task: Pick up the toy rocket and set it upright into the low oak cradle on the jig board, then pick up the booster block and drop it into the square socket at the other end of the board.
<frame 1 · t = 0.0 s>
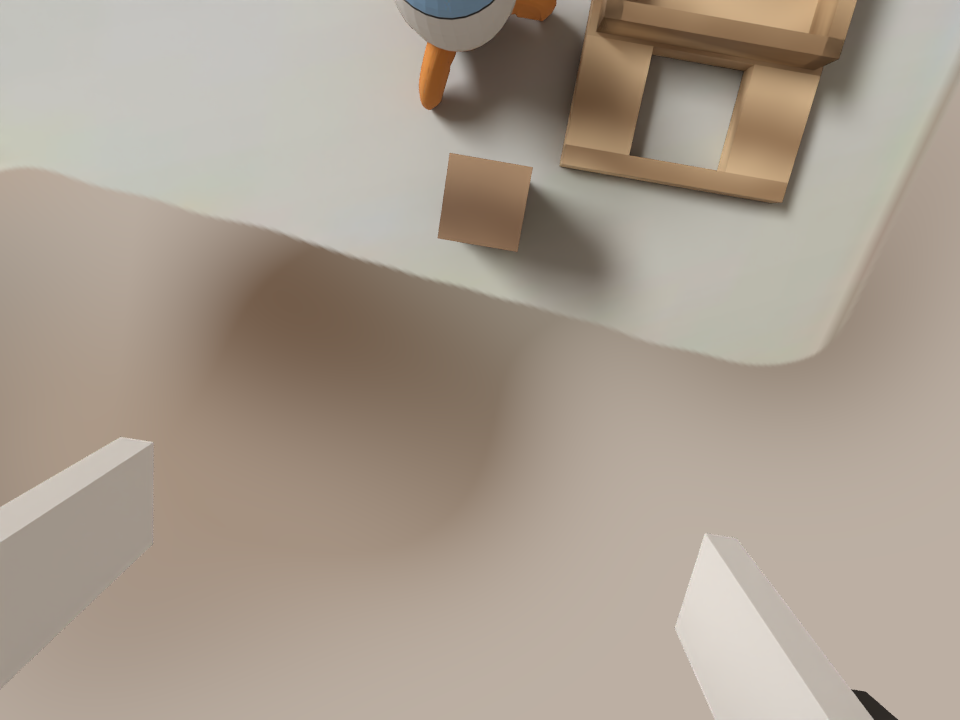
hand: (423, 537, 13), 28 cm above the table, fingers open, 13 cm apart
toy rocket: (452, 42, 35), on the table
booster block: (486, 206, 37), on the table
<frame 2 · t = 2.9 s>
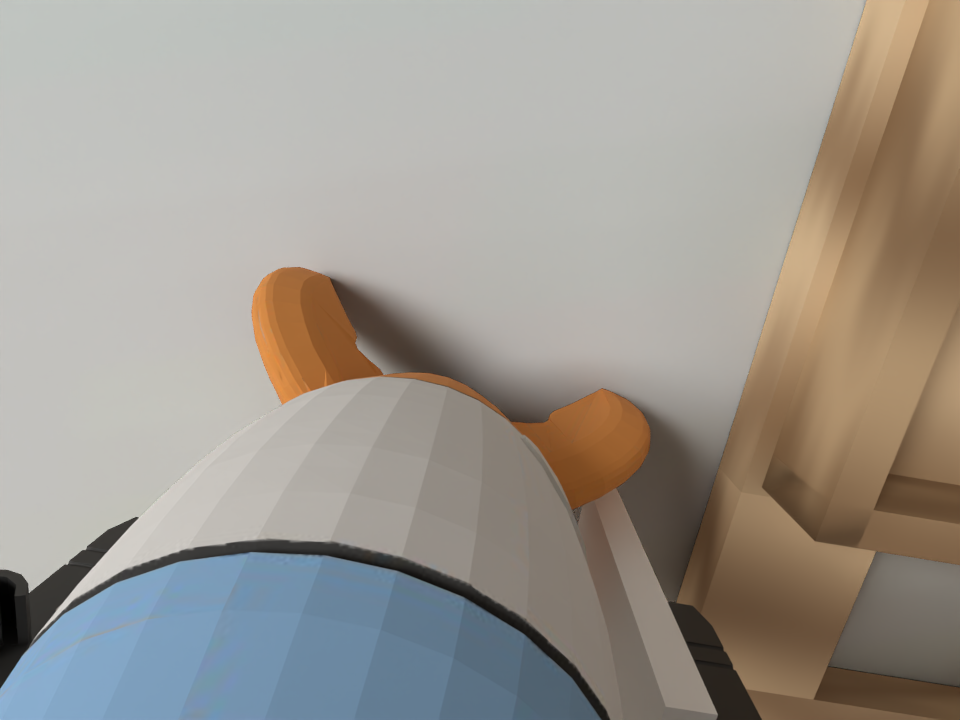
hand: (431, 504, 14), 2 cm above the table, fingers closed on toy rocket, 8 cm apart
toy rocket: (412, 449, 16), on the table, touching gripper
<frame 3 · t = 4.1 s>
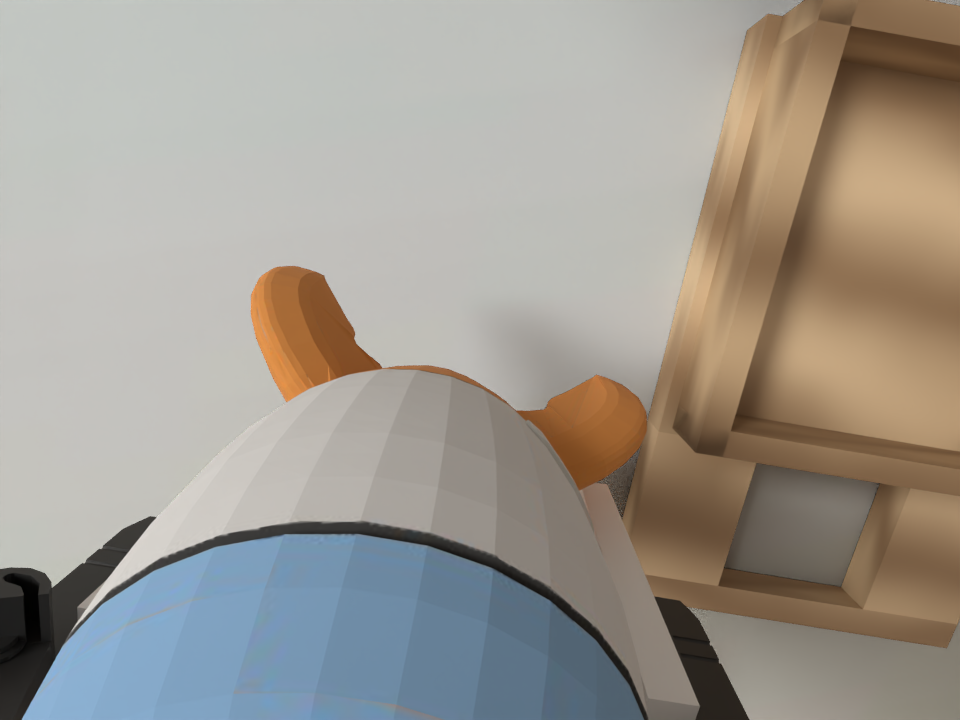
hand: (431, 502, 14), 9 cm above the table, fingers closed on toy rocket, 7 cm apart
toy rocket: (411, 443, 17), point 6 cm above the table, touching gripper
jig: (844, 364, 22), on the table
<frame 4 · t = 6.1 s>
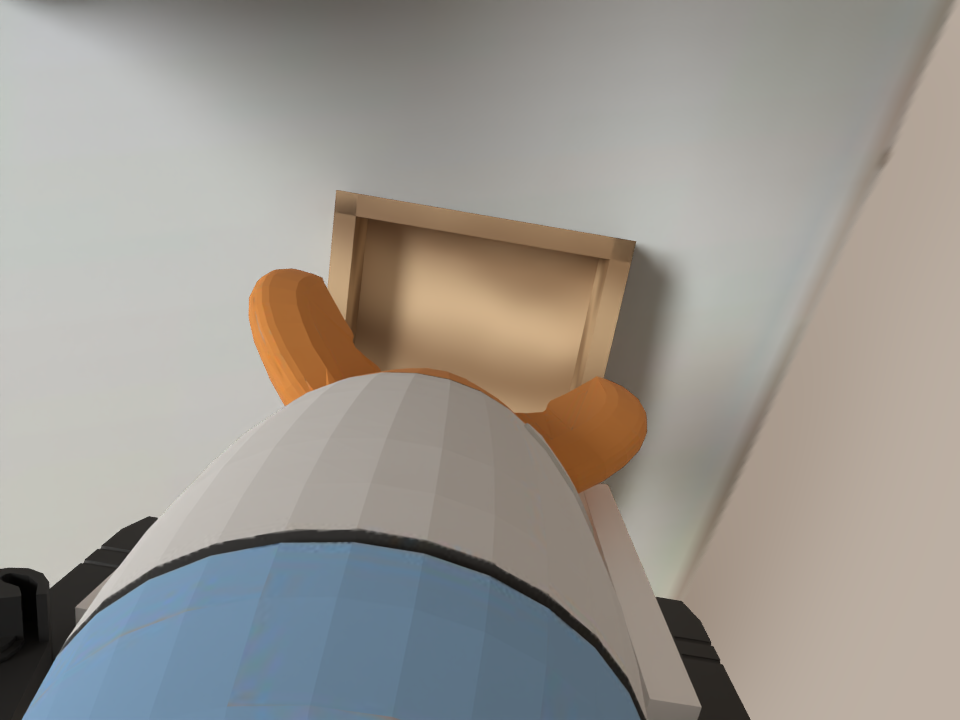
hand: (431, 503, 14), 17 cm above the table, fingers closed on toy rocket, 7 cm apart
toy rocket: (411, 445, 17), point 14 cm above the table, touching gripper
jig: (455, 415, 31), on the table
when the fingers open (6 cm above the table, at t = 8.4 s): toy rocket drops 2 cm, resting on jig.
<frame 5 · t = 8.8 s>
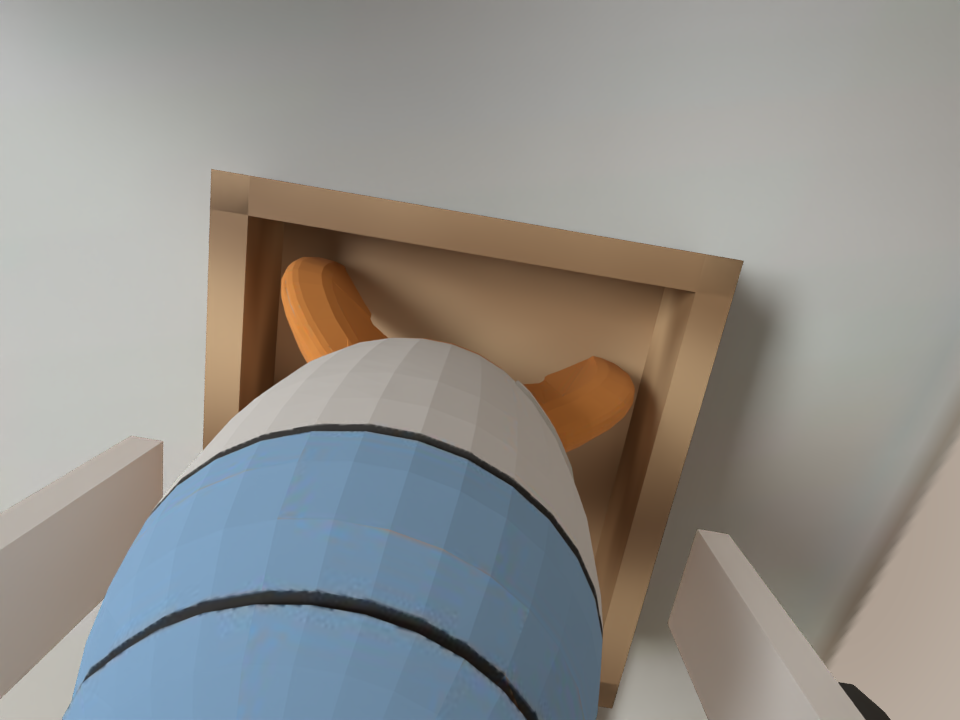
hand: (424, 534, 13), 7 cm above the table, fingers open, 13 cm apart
toy rocket: (423, 420, 18), point 1 cm above the table, touching jig
jig: (434, 518, 21), on the table
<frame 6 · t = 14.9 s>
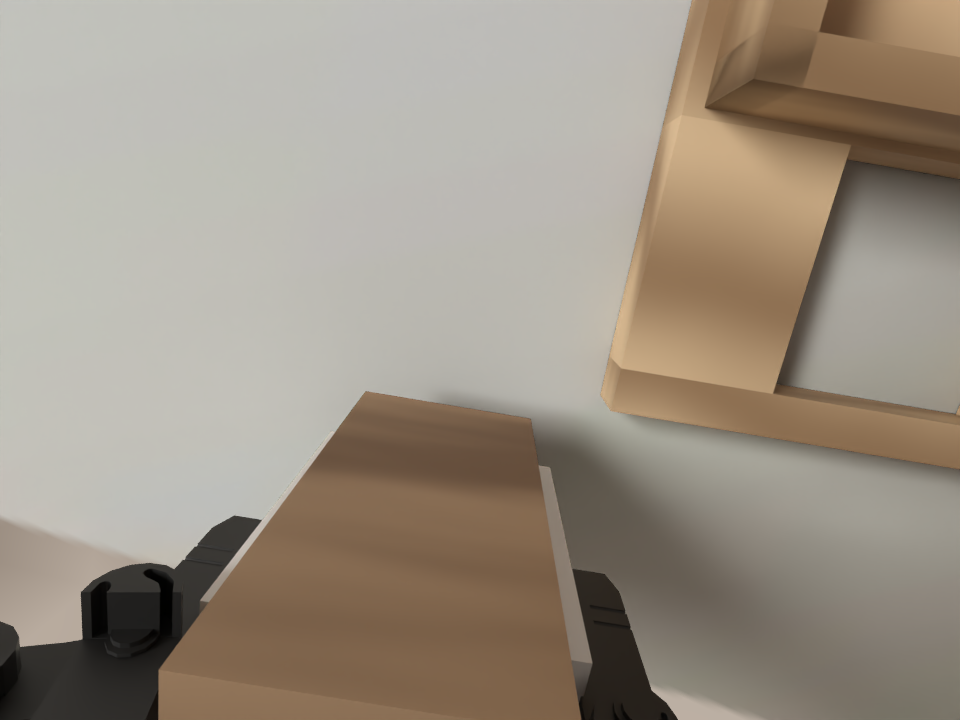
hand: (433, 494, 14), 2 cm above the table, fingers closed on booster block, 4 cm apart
booster block: (436, 479, 15), point 2 cm above the table, touching gripper
when the fingers open (3 cm above the table, at t = 19.6 s): booster block drops 2 cm, resting in jig.
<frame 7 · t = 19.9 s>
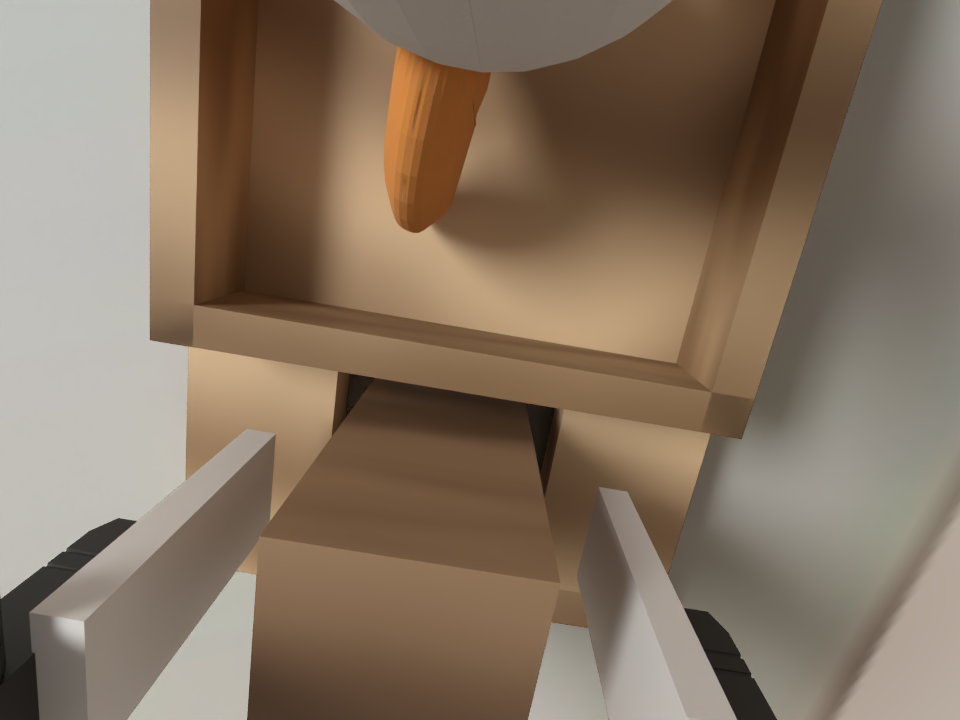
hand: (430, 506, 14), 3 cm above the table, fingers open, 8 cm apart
toy rocket: (471, 41, 13), point 1 cm above the table, touching jig
jig: (478, 233, 15), on the table
booster block: (442, 445, 17), resting in jig
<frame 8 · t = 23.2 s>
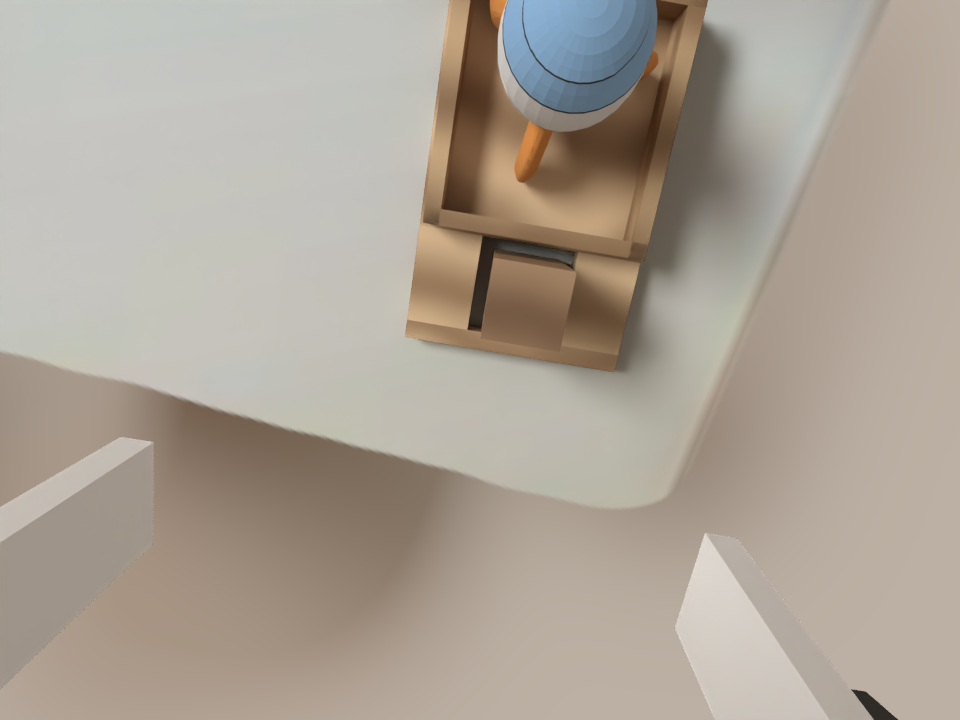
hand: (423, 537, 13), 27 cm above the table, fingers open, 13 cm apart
toy rocket: (541, 109, 33), point 1 cm above the table, touching jig
jig: (539, 187, 36), on the table
booster block: (520, 285, 38), resting in jig
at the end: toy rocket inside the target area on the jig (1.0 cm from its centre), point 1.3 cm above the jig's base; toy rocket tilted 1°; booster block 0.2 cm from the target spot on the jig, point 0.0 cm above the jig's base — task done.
